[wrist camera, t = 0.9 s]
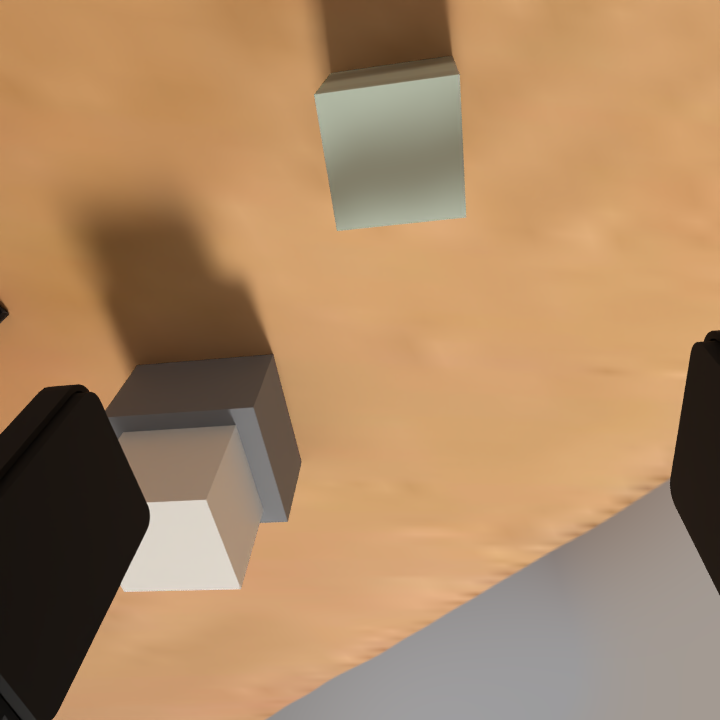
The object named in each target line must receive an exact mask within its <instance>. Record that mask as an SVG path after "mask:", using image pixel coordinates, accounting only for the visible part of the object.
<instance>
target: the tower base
mask: <svg viewBox="0 0 720 720" xmlns="http://www.w3.org/2000/svg"><path fill="white" fill-rule="evenodd" d="M105 412H106V414H107V416H108V419H109V421H110V423H111V425H112V427H113V430H114V432H115V434H116V436H117V438H118V439H119V438H120V436H121V435H122V433H123V432H135V431H151V430H166V429H182V428H198V427H214V426H230V425H236V427H237V430H238V434H239V437H240V440H241V443H242V446H243V449H244V452H245V455H246V458H247V461H248V464H249V468H250V471H251V474H252V477H253V480H254V483H255V486H256V489H257V492H258V495H259V498H260V502H261V505H262V508H263V513H262V517H261V520H260V523H267V522H288V518H289V514H290V510H291V505H292V501H293V497H294V492H295V488H296V484H297V480H298V475H299V471H300V467H301V458H300V454H299V451H298V447H297V443H296V439H295V435H294V432H293V428H292V424H291V420H290V416H289V413H288V409H287V405H286V401H285V397H284V394H283V390H282V386H281V382H280V378H279V375H278V371H277V367H276V363H275V359H274V356H273V354H270V355H258V356H245V357H233V358H221V359H208V360H196V361H183V362H171V363H159V364H146V365H137V366H136V368H135V369H134V370H133V372H132V373H131V375H130V376H129V378H128V379H127V380H126V382H125V383H124V385H123V386H122V388H121V389H120V390H119V392H118V393H117V395H116V396H115V398H114V399H113V400H112V402H111V403H110V405H109V406H108V407H107V409H106V410H105Z"/></svg>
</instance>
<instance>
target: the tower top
mask: <svg viewBox="0 0 720 720" xmlns="http://www.w3.org/2000/svg"><path fill="white" fill-rule="evenodd" d="M118 441H119V443H120V445H121V447H122V449H123V452H124V454H125V456H126V458H127V460H128V463H129V465H130V467H131V469H132V471H133V474H134V476H135V478H136V480H137V482H138V485H139V487H140V489H141V491H142V493H143V496H144V498H145V500H146V502H147V504H148V507H149V510H150V522H149V527H148V529H147V531H146V533H145V535H144V538H143V540H142V542H141V544H140V546H139V548H138V550H137V552H136V554H135V556H134V558H133V560H132V562H131V564H130V566H129V568H128V570H127V572H126V574H125V576H124V578H123V580H122V582H121V584H120V585H121V587H122V589H123V590H124V592H133V591H178V590H223V589H241V587H242V584H243V580H244V577H245V573H246V570H247V566H248V563H249V559H250V556H251V552H252V548H253V545H254V541H255V538H256V534H257V531H258V527H259V524H260V520H261V517H262V513H263V508H262V505H261V502H260V498H259V495H258V492H257V489H256V486H255V483H254V480H253V477H252V474H251V471H250V468H249V464H248V461H247V458H246V455H245V452H244V449H243V446H242V443H241V440H240V437H239V434H238V430H237V427H236V425H230V426H214V427H198V428H182V429H166V430H151V431H135V432H123V433H122V435H121V436H120V438H119V439H118Z"/></svg>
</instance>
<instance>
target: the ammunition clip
mask: <svg viewBox="0 0 720 720" xmlns="http://www.w3.org/2000/svg"><path fill="white" fill-rule="evenodd" d="M7 316H8V312H6V311H5V310H4V309H3V308H1V307H0V323H1V322H2V321H3V320H4V319H5V318H6V317H7Z"/></svg>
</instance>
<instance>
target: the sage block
mask: <svg viewBox="0 0 720 720" xmlns="http://www.w3.org/2000/svg"><path fill="white" fill-rule="evenodd" d="M314 97H315V103H316V109H317V115H318V121H319V126H320V132H321V138H322V144H323V150H324V156H325V162H326V168H327V174H328V180H329V186H330V192H331V198H332V204H333V210H334V216H335V222H336V228H337V231H341V230H351V229H360V228H369V227H379V226H388V225H398V224H407V223H417V222H426V221H436V220H445V219H455V218H464V217H466V204H465V182H464V160H463V138H462V116H461V94H460V74H459V71H458V69H457V66H456V64H455V61H454V59H453V56H446V57H439V58H432V59H425V60H418V61H411V62H404V63H397V64H390V65H383V66H376V67H369V68H362V69H355V70H348V71H341V72H334V73H331V74H330V75H329V76H328V77H327V79H326V80H325V81H324V83H323V84H322V85H321V86H320V88H319V89H318V90H317V91H316V93H315V94H314Z"/></svg>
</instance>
